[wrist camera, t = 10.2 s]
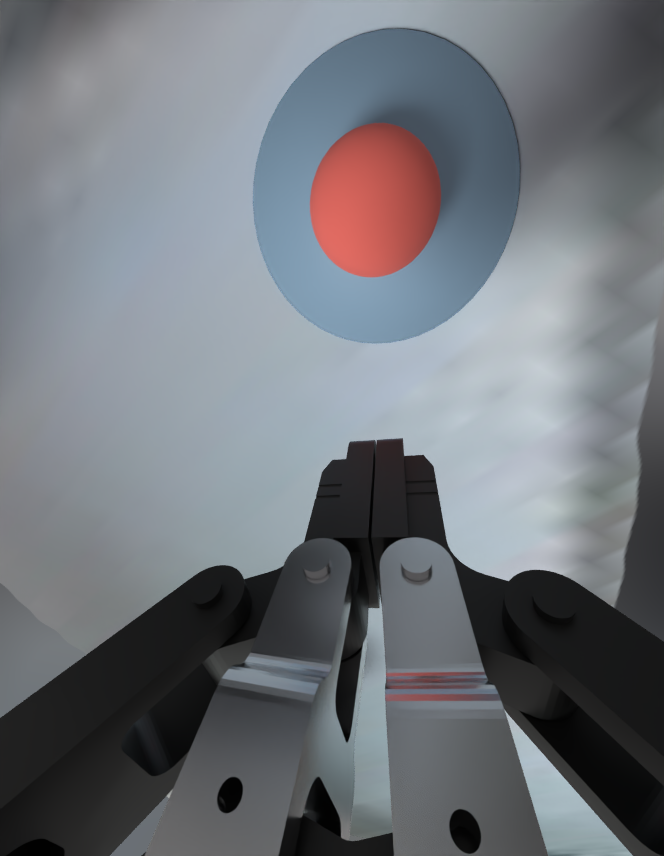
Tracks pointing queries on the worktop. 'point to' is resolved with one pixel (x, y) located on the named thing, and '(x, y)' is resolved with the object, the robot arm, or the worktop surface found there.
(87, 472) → the worktop surface
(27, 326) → the worktop surface
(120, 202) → the worktop surface
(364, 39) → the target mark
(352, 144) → the ball
